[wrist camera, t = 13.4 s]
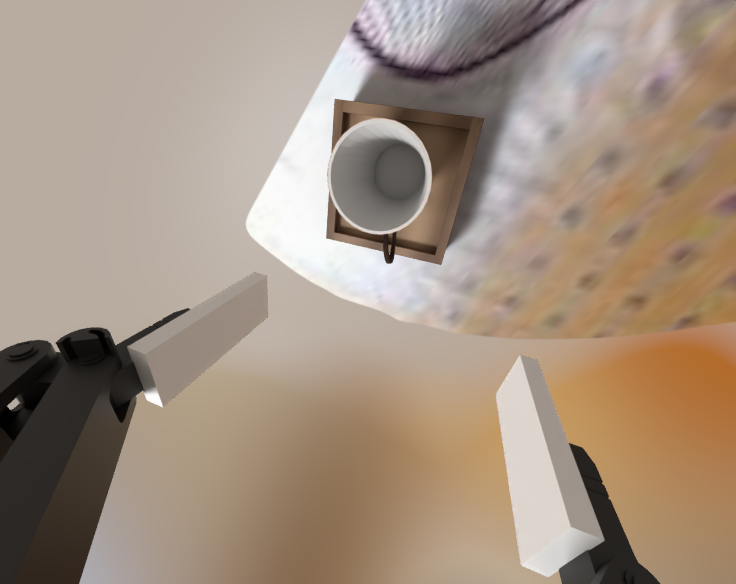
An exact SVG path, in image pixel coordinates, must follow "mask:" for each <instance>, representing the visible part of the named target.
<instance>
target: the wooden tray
mask: <svg viewBox="0 0 736 584" xmlns="http://www.w3.org/2000/svg"><path fill="white" fill-rule="evenodd" d="M372 118H386V119H390V120H395V121H397V122H399V123H401V124H403V125H405V126H407V127H408V128H409V129H410V130H412V131H413V132H414V133H415V134H416V135H417V136H418V138H419V139H420V140H421V141H422V143H423V145H424V147H425V149H426V151H427V153H428V156H429V159H430V163H431V170H432V183H431V190H430V194H429V197H428V200H427V202H426V204H425V206H424V208H423V210H422V211H421V213H420V214H419V215H418V217H417V218H416V219H415V220H414V221H413V222H411V223H410V224H409V225H408V226H406V227H405V228H403V229H401V230H399V231H397V234H396V246H395V254H396V255H401V256H405V257H409V258H414V259H418V260H422V261H427V262H431V263H435V264H439V265H441V264H442V261H443V257H444V254H445V250H446V247H447V244H448V240H449V237H450V233H451V230H452V227H453V223H454V220H455V216H456V213H457V209H458V206H459V203H460V199H461V196H462V192H463V189H464V186H465V182H466V179H467V175H468V172H469V169H470V165H471V162H472V158H473V155H474V151H475V148H476V145H477V141H478V138H479V134H480V131H481V128H482V124H483V121H484V118H476V117H469V116H461V115H454V114H446V113H438V112H431V111H423V110H415V109H408V108H400V107H392V106H385V105H377V104H369V103H362V102H354V101H347V100H339V99H335V103H334V119H333V136H332V151H333V149H334V147H335V145H336V143H337V142H338V140H339V139H340V138H341V137H342V135H343V134H344V133H345V132H346V131H347V130H349V129H350V128H351V127H352V126H354V125H356V124H358V123H360V122H361V121H365V120H368V119H372ZM331 153H332V152H331ZM392 234H393V233H390V234H388V250H389V253H390V251H391V245H392ZM326 238H327V239H332V240H336V241H340V242H345V243H349V244H353V245H358V246H362V247H366V248H371V249H375V250H379V251H383V238H384V234H382V235H380V234H370V233H367V232H363V231H361V230H359V229H357V228H355V227H353V226H352V225H351V224H350V223H348V222H347V221H346V220H345V219H344V218H343V217H342V216H341V215H340V213H339V212H338V210H337V209H336V207H335V205H334V203H333V201H332V198H331V196H330V192H329V202H328V218H327V235H326ZM383 252H384V251H383Z"/></svg>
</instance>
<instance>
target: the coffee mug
mask: <svg viewBox="0 0 736 584" xmlns="http://www.w3.org/2000/svg"><path fill="white" fill-rule="evenodd" d="M327 176H328V187H329V192H330V196H331V198H332V201H333V203H334V205H335V207H336V209H337V210H338V212H339V213H340V215H341V216H342V217H343V218H344V219H345V220H346V221H347V222H348V223H350V224H351V225H352V226H353V227H355V228H357V229H359V230H361V231H363V232H367V233H370V234H380V235H382V234H384V238H383V251H384V257H385V261H386V263H388V264H391V263H392V262H393V259H394V254H395V246H396V234H397V231H399V230H401V229H403V228H405V227H406V226H408V225H409V224H410V223H411V222H413V221H414V220H415V219H416V218H417V217H418V215H419V214H420V213H421V211H422V210H423V208H424V206H425V204H426V202H427V200H428V197H429V194H430V190H431V183H432V170H431V163H430V159H429V156H428V153H427V151H426V149H425V147H424V145H423V143H422V141H421V140H420V139H419V138H418V136H417V135H416V134H415V133H414V132H413V131H412V130H410V129H409V128H408V127H407V126H405V125H403V124H401V123H399V122H397V121H395V120H390V119H386V118H372V119H368V120H365V121H361V122H360V123H358V124H356V125H354V126H352V127H351V128H350V129H349V130H347V131H346V132H345V133H344V134H343V135H342V137H341V138H340V139H339V140H338V142H337V143H336V145H335V147H334V149H333V151H332V153H331V157H330V160H329V164H328V173H327ZM390 233H393V234H392V245H391V251H390V255H389V250H388V234H390Z"/></svg>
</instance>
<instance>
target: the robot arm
mask: <svg viewBox="0 0 736 584" xmlns="http://www.w3.org/2000/svg"><path fill="white" fill-rule="evenodd" d="M267 317H268V297H267V276H266V275H263V274H259V273H256V272H254V273H252V274H250V275H249V276H247V277H245V278H244V279H242V280H240V281H239V282H237V283H235V284H233V285H232V286H230V287H228V288H227V289H225V290H223V291H221V292H220V293H218V294H216V295H215V296H213V297H211V298H210V299H208V300H206V301H204V302H203V303H201V304H199V305H198V306H196V307H194V308H193V309H189V308H187V309H184V310H181V311H178V312H174V313H172V314H171V315H169V316H167V317H165V318H163V319H162V321H158V322H156V323H155V324H153V326H149V327H148V328H146V329H144V330H142V331H140V332H139V333H137V334H135V335H133V336H132V337H130V338H128V339H126V340H124V341H123V342H121V343H119V344H117V345H115V344H114V341H113V339H112V336H111V334H110V332H109V331H108V330H107V329H103V328H86V329H81V330H77V331H74V332H71V333H69V334H67V335H65V336H63V337H62V338H60V339H59V340H58V341H57V342H56V344H57V346H58V348H59V350H60V352H55V350H54V348H53V346H52V345H51V343H49V342H48V341H43V340H34V341H27V342H22V343H18V344H16V345H13V346H10V347H8V348H6V349H4V350H2V351H0V584H79V582H80V578H81V576H82V573H83V569H84V566H85V563H86V560H87V556H88V553H89V550H90V547H91V544H92V541H93V538H94V535H95V531H96V528H97V525H98V522H99V519H100V516H101V513H102V509H103V506H104V503H105V500H106V497H107V494H108V490H109V487H110V484H111V481H112V478H113V475H114V472H115V468H116V465H117V462H118V459H119V456H120V453H121V449H122V446H123V443H124V440H125V437H126V434H127V431H128V427H129V424H130V421H131V418H132V415H133V412H134V408H135V405H136V395H137V394H139V393H140V392H141V391H142V390H143V391H144V393H145V396H146V399H147V400H148V401H150V402H152V403H155V404H157V405H159V406H161V407H164V406H165V405H166V404H168V403H169V402H170V401H171V400H172V399H173V398H175V397H176V396H177V395H178V394H179V393H180V392H182V391H183V390H184V389H185V388H186V387H187V386H188V385H190V384H191V383H192V382H193V381H194V380H195V379H197V378H198V377H199V376H200V375H201V374H202V373H204V372H205V371H206V370H207V369H208V368H209V367H211V366H212V365H213V364H214V363H215V362H216V361H217V360H219V359H220V358H221V357H222V356H223V355H224V354H226V353H227V352H228V351H229V350H230V349H231V348H232V347H233V346H235V345H236V344H237V343H238V342H240V341H241V340H242V339H243V338H244V337H245V336H247V335H248V334H249V333H250V332H251V331H252V330H253V329H254V328H256V327H257V326H258V325H259V324H260V323H262V322H263V321H264V320H265V319H266V318H267ZM15 398H17V400H18V401H19V402H20V404H19V405H17V406H16V407H15V408H14V409H12V410H10V409H9V408H8V407H7V405H8V404H9V403H11V402H12V401H13V400H14V399H15ZM496 400H497V407H498V413H499V420H500V427H501V434H502V441H503V447H504V454H505V461H506V468H507V474H508V481H509V488H510V495H511V502H512V508H513V515H514V522H515V529H516V535H517V542H518V549H519V556H520V563H521V566H524V567H526V568H528V569H530V570H533V571H535V572H537V573H539V574H542V575H544V576H546V577H549V576H551V575H552V574H554V573H555V572H557V571H559V572H560V577H561V581H562V584H660V583H659V582H658V581H657V579H656V578H655V577H654V576H653V575H652V574H651V573H650V572H649V571H648V570H647V569H645V568H644V567H643V566H642V565H640V564H639V563H638V561H637V560H636V558H635V556H634V553H633V551H632V549H631V546H630V544H629V542H628V539H627V537H626V535H625V532H624V530H623V528H622V526H621V523H620V521H619V518H618V516H617V514H616V512H615V509H614V507H613V505H612V502H611V500H609V498H608V497H609V495H608V493H607V491H606V488H605V486H604V485H603V484H602V482H603V481H602V479H601V477H600V475H599V472H598V470H597V468H596V465H595V464H594V462H593V461H592V460H591V458H590V457H589V456H588V455H587V453H586V452H585V450H584V449H583V448H582V447H579V446H576V445H573V444H570V443H568V440H567V438H566V435H565V432H564V430H563V427H562V424H561V422H560V419H559V416H558V413H557V411H556V408H555V405H554V403H553V400H552V397H551V395H550V392H549V390H548V387H547V384H546V381H545V379H544V376H543V373H542V370H541V368H540V365H539V362H538V360H535V359H532V358H529V357H526V356H523V355H520V356H519V357H518V359H517V361H516V362H515V364H514V365H513V367H512V369H511V371H510V372H509V374H508V375H507V377H506V379H505V380H504V382H503V384H502V385H501V387H500V389H499V390H498V392H497V394H496Z"/></svg>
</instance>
